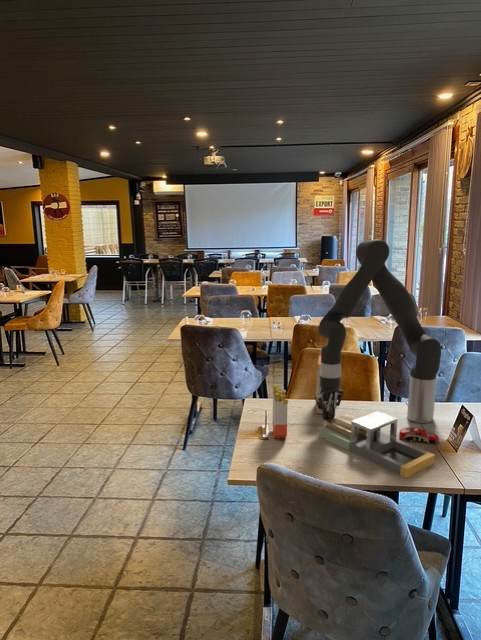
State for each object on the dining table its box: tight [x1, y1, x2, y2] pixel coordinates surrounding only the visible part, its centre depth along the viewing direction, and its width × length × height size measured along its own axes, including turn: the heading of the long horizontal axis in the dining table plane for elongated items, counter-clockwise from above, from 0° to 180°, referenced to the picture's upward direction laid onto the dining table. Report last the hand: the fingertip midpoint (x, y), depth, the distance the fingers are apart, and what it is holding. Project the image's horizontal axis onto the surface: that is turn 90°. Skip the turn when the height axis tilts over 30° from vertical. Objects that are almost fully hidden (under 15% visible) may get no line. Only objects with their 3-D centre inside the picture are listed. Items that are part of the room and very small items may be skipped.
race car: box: [398, 427, 440, 445], centre depth 169 cm, size 13×5×4 cm, turn 72°
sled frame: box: [325, 404, 377, 441], centre depth 169 cm, size 10×22×6 cm, turn 37°
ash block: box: [334, 413, 364, 432], centre depth 168 cm, size 6×10×4 cm, turn 37°
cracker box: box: [315, 354, 327, 415], centre depth 195 cm, size 14×6×21 cm, turn 168°
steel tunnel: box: [350, 410, 399, 451], centre depth 161 cm, size 14×8×8 cm, turn 127°
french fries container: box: [272, 383, 289, 439], centre depth 171 cm, size 5×11×18 cm, turn 1°
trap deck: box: [318, 425, 436, 479], centre depth 162 cm, size 15×36×3 cm, turn 37°
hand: (328, 418), depth 177 cm, fingers closed on sled frame, 2 cm apart
